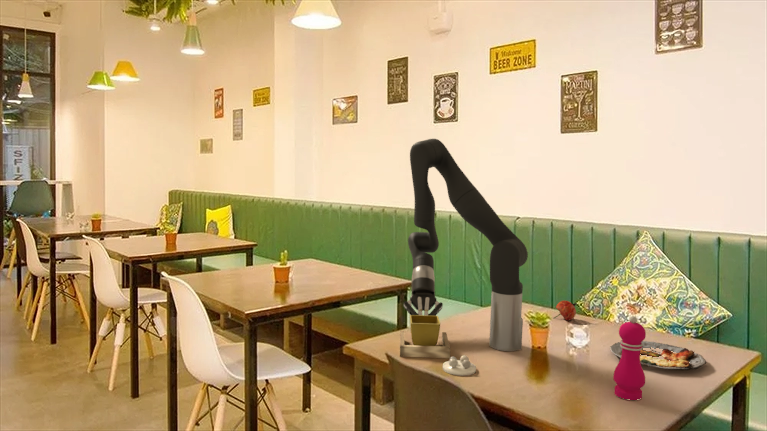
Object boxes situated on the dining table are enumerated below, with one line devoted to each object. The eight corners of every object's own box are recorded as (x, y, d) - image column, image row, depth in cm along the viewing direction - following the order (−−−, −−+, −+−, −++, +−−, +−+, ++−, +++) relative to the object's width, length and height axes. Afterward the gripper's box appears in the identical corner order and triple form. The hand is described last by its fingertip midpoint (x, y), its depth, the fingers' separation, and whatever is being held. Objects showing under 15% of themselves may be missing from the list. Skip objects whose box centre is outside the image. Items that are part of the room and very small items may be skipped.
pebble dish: (473, 364, 160) (474, 352, 160) (478, 376, 151) (478, 363, 151) (441, 363, 161) (442, 351, 160) (443, 374, 152) (444, 362, 151)
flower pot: (439, 353, 169) (440, 323, 168) (409, 352, 169) (410, 322, 168) (437, 344, 177) (438, 315, 177) (408, 343, 177) (409, 314, 177)
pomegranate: (557, 327, 206) (581, 313, 203) (546, 310, 208) (569, 296, 205) (560, 324, 213) (583, 311, 210) (549, 307, 215) (572, 294, 212)
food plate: (714, 360, 168) (715, 348, 168) (691, 382, 151) (692, 369, 151) (627, 343, 185) (628, 332, 185) (598, 361, 168) (598, 349, 168)
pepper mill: (606, 389, 144) (611, 312, 142) (634, 389, 145) (639, 312, 143) (621, 402, 137) (626, 320, 135) (650, 401, 138) (655, 320, 136)
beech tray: (445, 341, 180) (446, 332, 180) (449, 358, 165) (450, 347, 165) (400, 340, 180) (400, 330, 180) (399, 356, 165) (400, 346, 165)
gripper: (403, 275, 185) (401, 323, 175) (444, 277, 185) (445, 325, 174) (402, 287, 191) (401, 334, 180) (442, 289, 191) (443, 336, 180)
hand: (423, 329), depth 177 cm, fingers closed
